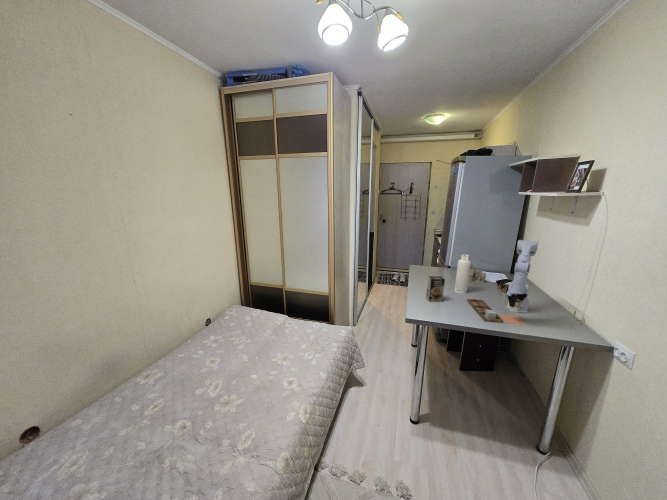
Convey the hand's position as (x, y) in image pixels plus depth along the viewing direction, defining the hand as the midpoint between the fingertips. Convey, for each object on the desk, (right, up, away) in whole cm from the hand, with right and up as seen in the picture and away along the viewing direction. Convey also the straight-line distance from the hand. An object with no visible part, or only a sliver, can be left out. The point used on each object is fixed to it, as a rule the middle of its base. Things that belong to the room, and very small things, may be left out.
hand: (514, 305), depth 141 cm
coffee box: (-34, -3, +29) cm, 45 cm away
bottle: (-9, +1, +43) cm, 44 cm away
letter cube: (0, -2, 0) cm, 2 cm away
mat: (0, -9, +2) cm, 9 cm away
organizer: (-11, -7, +12) cm, 18 cm away
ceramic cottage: (+13, +6, +65) cm, 67 cm away
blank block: (-12, -8, +4) cm, 15 cm away
